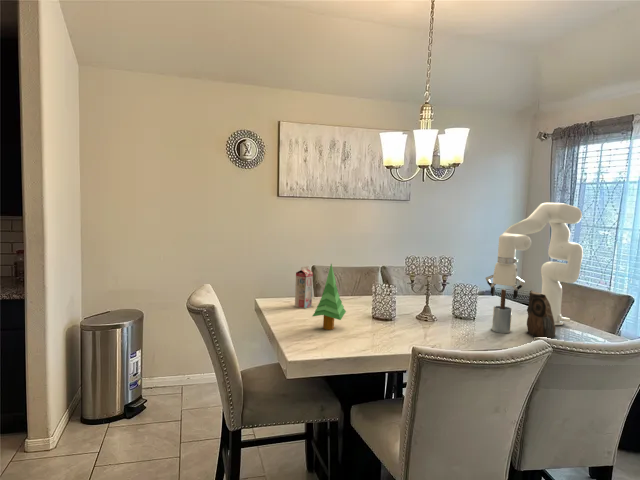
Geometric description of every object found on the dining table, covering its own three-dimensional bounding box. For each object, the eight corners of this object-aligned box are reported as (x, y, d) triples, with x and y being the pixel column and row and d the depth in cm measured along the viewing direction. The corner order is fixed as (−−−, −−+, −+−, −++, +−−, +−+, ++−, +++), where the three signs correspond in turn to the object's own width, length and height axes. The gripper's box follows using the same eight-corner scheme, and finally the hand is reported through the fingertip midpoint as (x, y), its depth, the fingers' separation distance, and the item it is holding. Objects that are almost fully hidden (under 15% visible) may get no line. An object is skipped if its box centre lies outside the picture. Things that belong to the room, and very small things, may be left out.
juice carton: (311, 306, 249) (313, 266, 247) (304, 308, 243) (306, 267, 242) (301, 304, 252) (303, 265, 251) (294, 306, 247) (296, 266, 245)
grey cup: (511, 330, 215) (513, 307, 214) (508, 334, 208) (509, 310, 207) (494, 327, 219) (495, 305, 218) (490, 330, 213) (491, 307, 212)
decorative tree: (348, 332, 200) (351, 265, 198) (313, 332, 197) (316, 264, 195) (342, 324, 213) (345, 261, 211) (309, 324, 211) (311, 260, 208)
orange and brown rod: (506, 329, 214) (509, 289, 213) (504, 330, 211) (507, 290, 209) (497, 327, 216) (500, 288, 215) (495, 329, 213) (498, 289, 212)
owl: (546, 340, 199) (549, 296, 198) (517, 334, 208) (520, 291, 207) (556, 336, 208) (560, 293, 207) (528, 329, 217) (531, 288, 216)
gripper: (527, 262, 209) (525, 298, 211) (489, 258, 219) (486, 293, 220) (524, 263, 203) (521, 301, 205) (485, 259, 213) (482, 295, 214)
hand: (503, 297), depth 213 cm, fingers open, 9 cm apart
